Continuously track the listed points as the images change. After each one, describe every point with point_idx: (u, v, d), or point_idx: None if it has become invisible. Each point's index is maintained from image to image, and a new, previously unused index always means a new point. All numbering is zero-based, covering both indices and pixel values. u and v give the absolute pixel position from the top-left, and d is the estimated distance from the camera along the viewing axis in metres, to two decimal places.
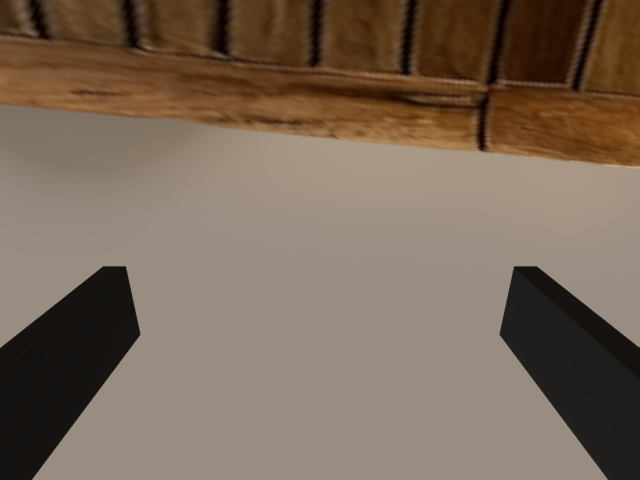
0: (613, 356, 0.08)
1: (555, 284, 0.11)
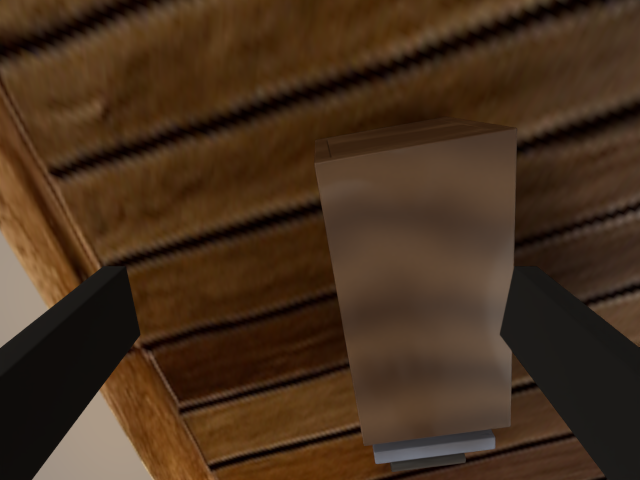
0: (613, 356, 0.08)
1: (555, 284, 0.11)
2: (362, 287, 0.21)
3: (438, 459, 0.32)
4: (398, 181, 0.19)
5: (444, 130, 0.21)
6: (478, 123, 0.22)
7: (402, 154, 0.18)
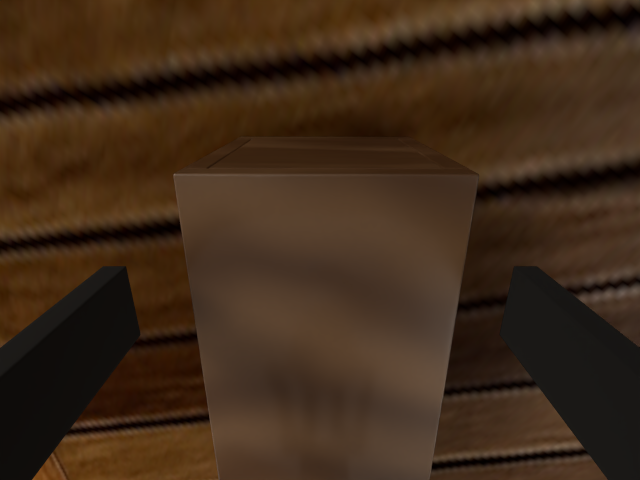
0: (613, 356, 0.08)
1: (555, 284, 0.11)
2: (236, 356, 0.15)
3: None
4: (297, 221, 0.13)
5: (387, 156, 0.15)
6: (436, 155, 0.16)
7: (306, 182, 0.12)
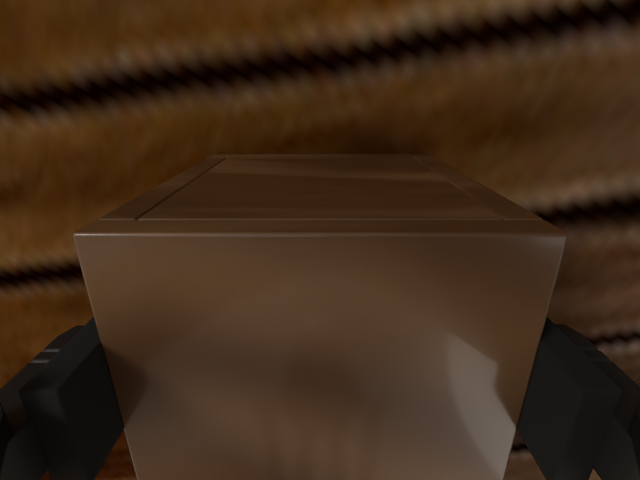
0: None
1: None
2: None
3: None
4: (276, 304, 0.08)
5: (409, 191, 0.11)
6: (477, 187, 0.11)
7: (289, 246, 0.08)
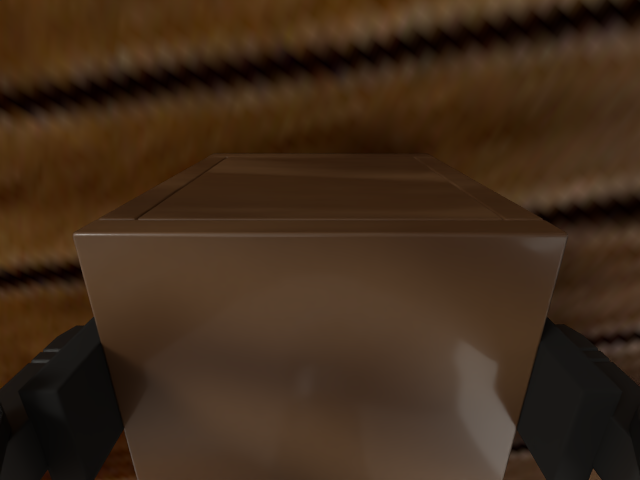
0: None
1: None
2: None
3: None
4: (276, 304, 0.08)
5: (410, 191, 0.11)
6: (478, 187, 0.11)
7: (289, 246, 0.08)
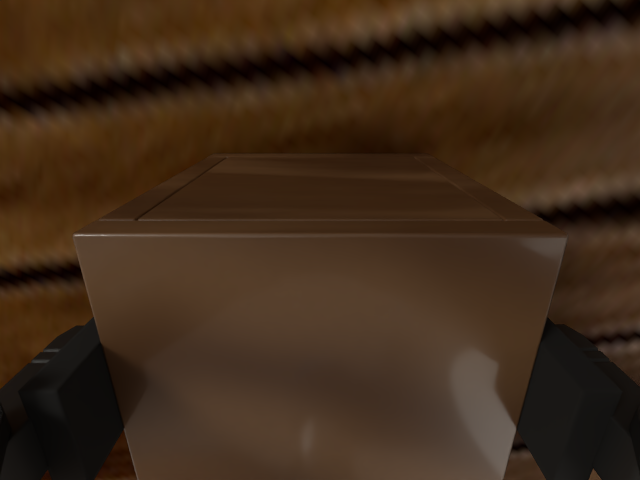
0: None
1: None
2: None
3: None
4: (276, 304, 0.08)
5: (410, 191, 0.11)
6: (478, 188, 0.11)
7: (289, 247, 0.08)
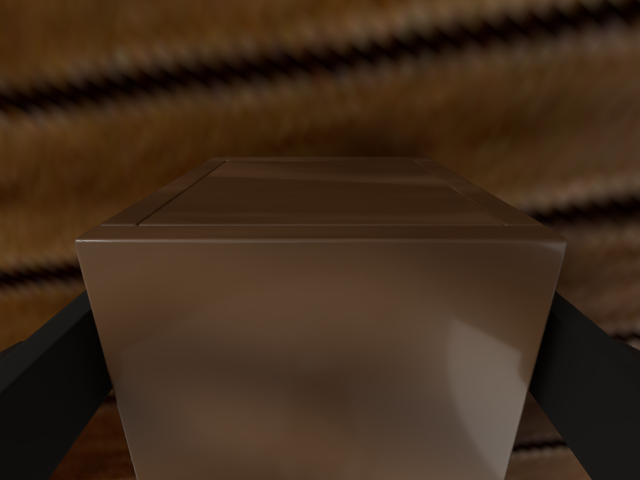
0: (588, 348, 0.08)
1: None
2: None
3: None
4: (277, 309, 0.08)
5: (410, 195, 0.11)
6: (478, 192, 0.11)
7: (290, 252, 0.08)
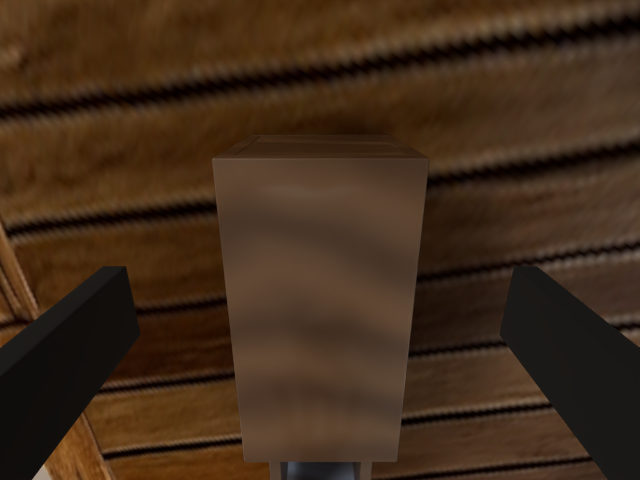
0: (613, 356, 0.08)
1: (555, 284, 0.11)
2: (254, 298, 0.20)
3: None
4: (300, 193, 0.18)
5: (367, 147, 0.20)
6: (404, 146, 0.21)
7: (307, 164, 0.17)
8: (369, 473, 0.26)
